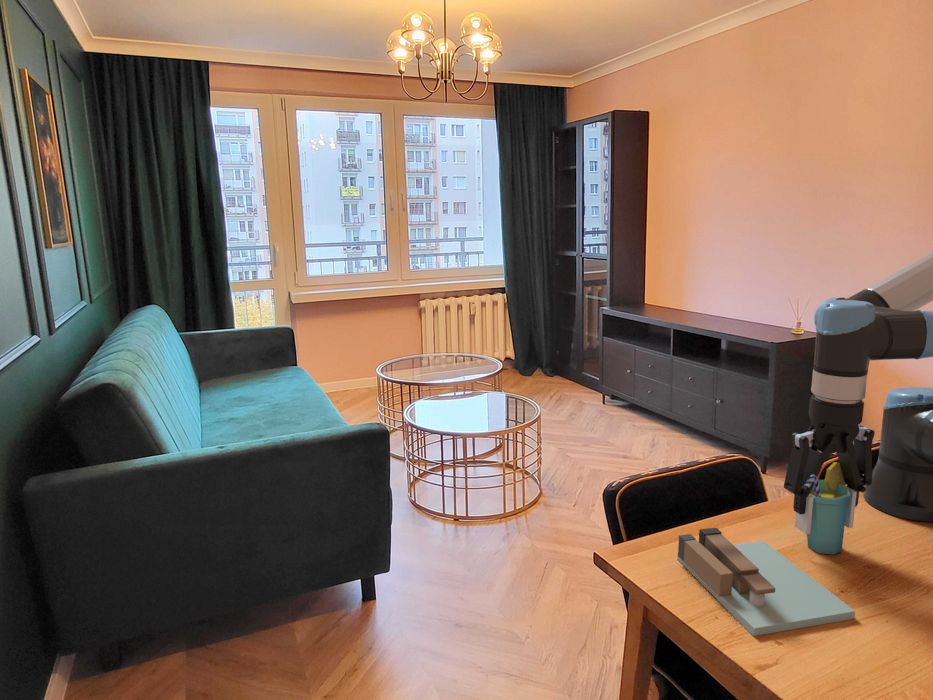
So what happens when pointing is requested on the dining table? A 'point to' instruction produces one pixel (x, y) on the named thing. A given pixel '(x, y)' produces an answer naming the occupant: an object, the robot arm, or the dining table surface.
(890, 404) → the robot arm
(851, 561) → the dining table surface
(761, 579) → the leg
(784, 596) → the stool seat
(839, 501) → the cup
